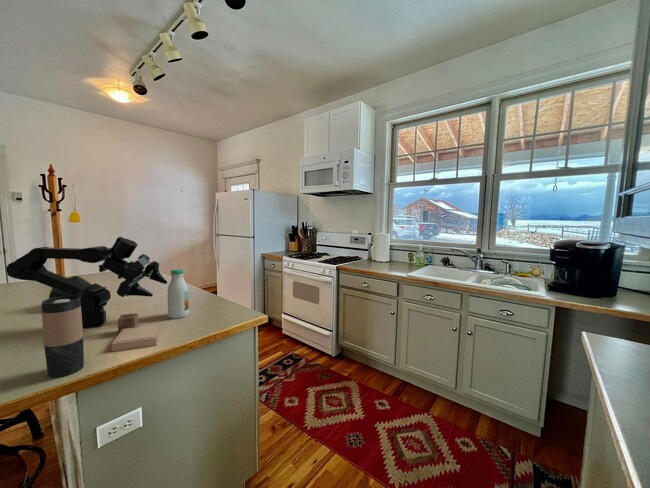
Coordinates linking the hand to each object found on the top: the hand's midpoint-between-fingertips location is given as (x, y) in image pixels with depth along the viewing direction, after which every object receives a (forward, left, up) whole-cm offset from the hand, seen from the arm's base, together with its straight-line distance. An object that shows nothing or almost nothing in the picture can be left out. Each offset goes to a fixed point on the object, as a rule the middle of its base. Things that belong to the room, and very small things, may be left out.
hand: (159, 289), depth 106 cm
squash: (-39, +34, -14) cm, 54 cm away
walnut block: (-9, -6, -14) cm, 18 cm away
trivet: (-4, -15, -14) cm, 21 cm away
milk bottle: (+6, +6, -14) cm, 16 cm away
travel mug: (-18, -29, -14) cm, 37 cm away
